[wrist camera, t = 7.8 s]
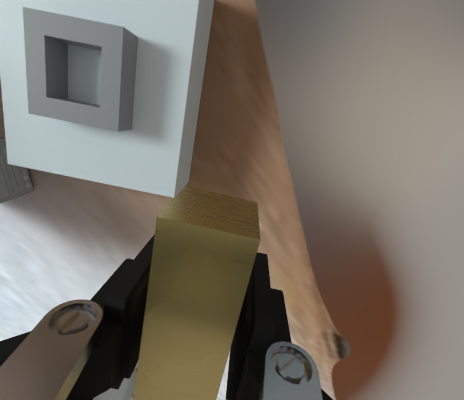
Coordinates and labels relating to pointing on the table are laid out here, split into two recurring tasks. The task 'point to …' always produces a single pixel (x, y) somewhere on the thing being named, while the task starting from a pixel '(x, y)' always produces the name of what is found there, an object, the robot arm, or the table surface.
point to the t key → (195, 294)
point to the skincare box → (12, 177)
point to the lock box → (104, 88)
